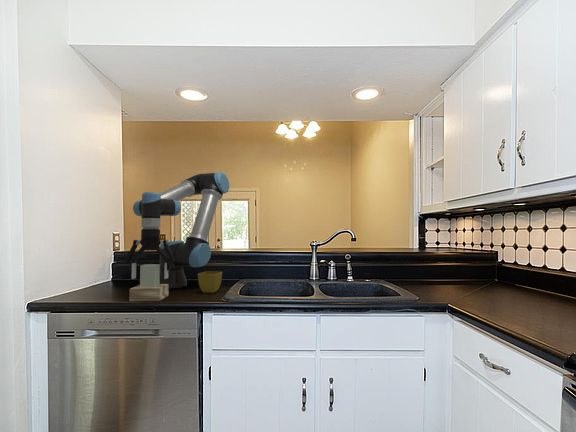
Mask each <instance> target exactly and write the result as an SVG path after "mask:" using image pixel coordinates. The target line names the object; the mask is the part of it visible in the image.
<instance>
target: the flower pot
mask: <svg viewBox="0 0 576 432" xmlns="http://www.w3.org/2000/svg"><path fill="white" fill-rule="evenodd" d="M222 278H223V271H203V272H199V273H197V280H198V286H199V288H200V290H201V291H202V293H205V294H207V293H208V294H213V293H216V292H218V290H219V288H220V287H221V284H222Z"/></svg>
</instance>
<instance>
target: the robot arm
mask: <svg viewBox="0 0 576 432" xmlns="http://www.w3.org/2000/svg"><path fill="white" fill-rule="evenodd" d="M229 190H230V181H229V178H228V177H227V175H226V174H225V172H221V171H218V172H217V171H216V172H207V173H205V172H204V173H198V174H195V175H193V176H191V177H188V178H186V179H183V180H181V182H180V183H179V184H177V185H175V186H174V187H173V186H172V187H171V188H168V189H167V190H163V191H162V192H160V193H159V192H155V191H154V192H153V191H149V192H148V191H147V192H143V193H142V194H141V200H136V201H135V202H134V203H133V206H132V211H133V214H134V215H136V216H137V217H141V220H140V221H141V223H140V224H141V225H140V226H141V227H140V228H141V230H140V231H141V232H140V233H141V234H140V238H141V239H140V240H138V239H133V240H132V241H133V242H132V246H131V247H130V249H129V251H128V253H127V255H126V258H125V259H124V262H125V263H129V271H131V280H135V279H137V262H136V261H137V260H138V259H139V257H140V256H141V255H142V254H143V253H144V252H145V251H156V252H157V253H158V254H159V264H160V284H169V289H178V288H184V287H187V286H188V281H187V278H186V275H185V272H184V267H190V268H191V267H192V268H200V267H204V266H206V265H207V264H208V262H209V261H210V260H211V257H212V249H211V247H210V243H209V241H208V238H209V235H210V230H211V227H212V224H213V220H214V217H215V213H216V210H217V209H216V208H217V206H218V203H219V201H221V200H222V198H223V195H224V194H227V193H228V192H229ZM196 195H197V196H198V195H201V196H202V197H201V200H200V204H199V207H198V210H197V213H196V217H195V219H194V223H193V225H192V226H193V227H192V229H191V232H190V235H188V236H187V237H186V238H185V241H184V240H171V241H169V240H168V239H163V240H161V229H160V228H161V217H167V216H168V217H169V216H170V217H174V216H178V215H179V214H180V213H181V211H182V205H181V203H180V201H182V200H183V199H185V198H188V197H189V198H190V197H191V198H192V197H194V196H196ZM139 245H141V247H140V248H139V249H138V251H137V252H136V250H137V248H138V246H139ZM135 252H136V253H135Z"/></svg>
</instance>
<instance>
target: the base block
mask: <svg viewBox="0 0 576 432" xmlns="http://www.w3.org/2000/svg"><path fill="white" fill-rule="evenodd" d="M169 289H170V288H169V284H159V286H157V287H143V288H140V284H138V285H136V286H133V287H131V288H129V298H128V299H129V302H159V301H162V300H163V299H165V298H167V297H168V296H169V292H170V290H169Z"/></svg>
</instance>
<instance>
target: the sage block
mask: <svg viewBox="0 0 576 432" xmlns="http://www.w3.org/2000/svg"><path fill="white" fill-rule="evenodd" d="M139 269H140V271H139V273H140V274H139V285H140V288H143V287H157V286H159V284H160V263H159V264H158V263H155V264H152V263H148V264H147V263H146V264H145V263H144V264H141V265H140V267H139Z"/></svg>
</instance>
